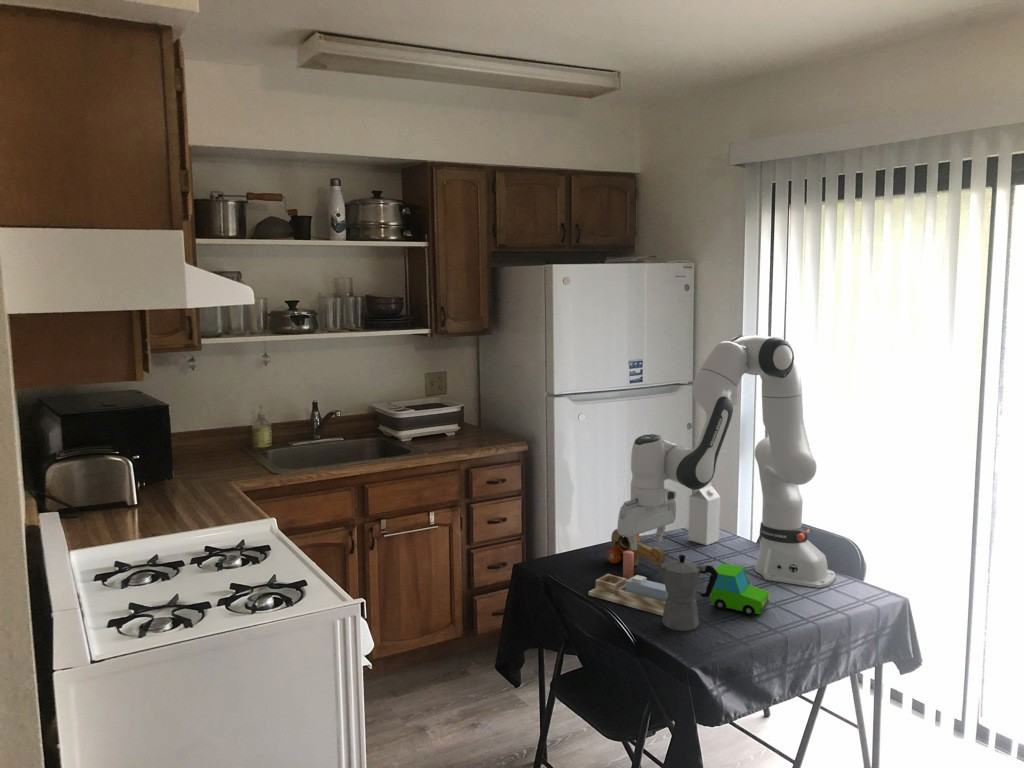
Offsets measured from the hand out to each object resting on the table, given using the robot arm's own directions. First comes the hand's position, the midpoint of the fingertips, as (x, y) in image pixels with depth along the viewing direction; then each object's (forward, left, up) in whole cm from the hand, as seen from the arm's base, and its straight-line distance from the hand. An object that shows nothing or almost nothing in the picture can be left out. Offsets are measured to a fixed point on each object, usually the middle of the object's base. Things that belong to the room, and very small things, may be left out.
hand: (646, 545), depth 227 cm
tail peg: (+11, -9, -15) cm, 21 cm away
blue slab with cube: (-2, +2, -14) cm, 14 cm away
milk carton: (+9, -54, -15) cm, 57 cm away
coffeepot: (-16, +9, -15) cm, 24 cm away
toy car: (-23, -9, -15) cm, 29 cm away
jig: (+2, +2, -15) cm, 15 cm away
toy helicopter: (+15, -20, -15) cm, 29 cm away
